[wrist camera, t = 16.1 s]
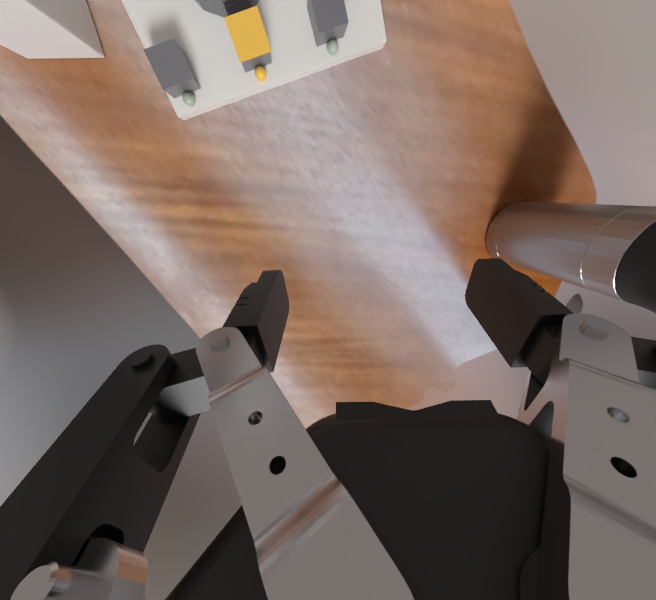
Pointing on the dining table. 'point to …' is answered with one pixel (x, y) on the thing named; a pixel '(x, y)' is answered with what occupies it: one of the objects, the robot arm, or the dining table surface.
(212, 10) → the lockout collar
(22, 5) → the milk carton
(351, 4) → the board
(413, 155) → the dining table surface
